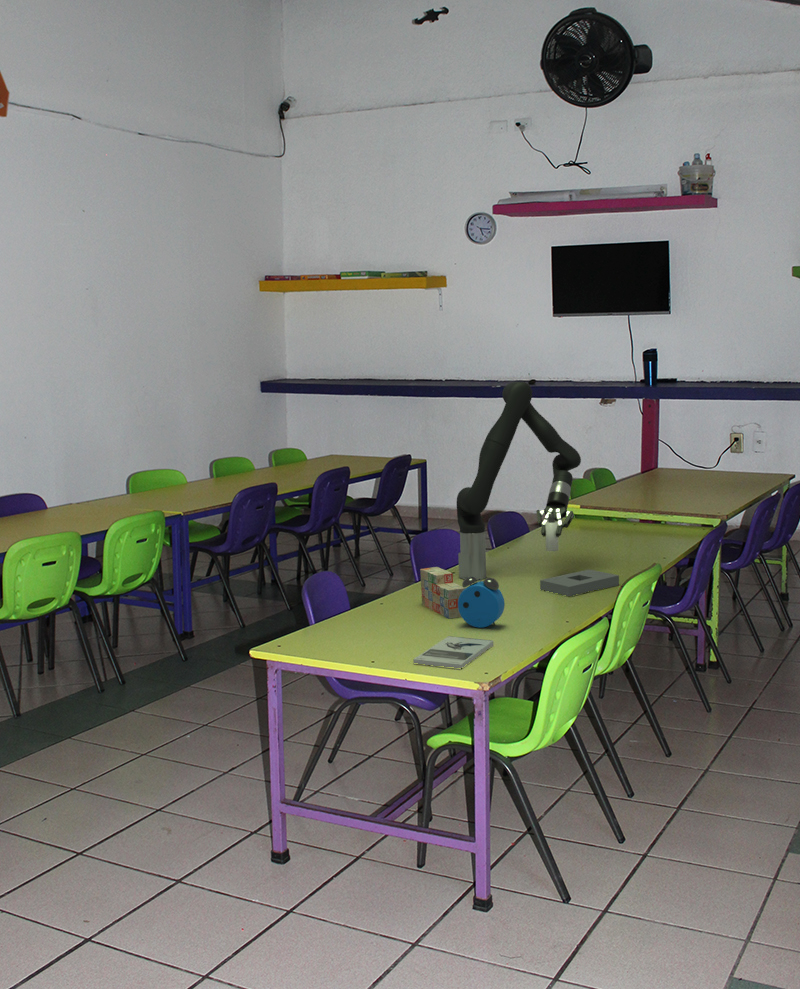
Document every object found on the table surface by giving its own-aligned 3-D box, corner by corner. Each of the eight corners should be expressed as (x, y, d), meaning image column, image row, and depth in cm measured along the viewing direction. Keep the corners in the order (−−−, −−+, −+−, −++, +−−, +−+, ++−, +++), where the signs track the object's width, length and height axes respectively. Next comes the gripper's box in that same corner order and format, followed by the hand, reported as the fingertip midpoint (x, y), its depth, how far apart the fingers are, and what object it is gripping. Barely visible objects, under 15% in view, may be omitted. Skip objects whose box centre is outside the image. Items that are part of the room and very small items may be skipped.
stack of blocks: (466, 616, 310) (465, 578, 309) (448, 619, 308) (447, 580, 306) (438, 602, 330) (437, 566, 328) (421, 604, 328) (419, 568, 326)
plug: (551, 551, 348) (551, 515, 346) (543, 550, 352) (542, 514, 350) (560, 549, 351) (560, 513, 349) (552, 548, 354) (551, 512, 352)
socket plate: (569, 597, 329) (569, 586, 329) (540, 590, 341) (540, 580, 340) (619, 585, 343) (618, 575, 342) (589, 578, 354) (589, 569, 354)
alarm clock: (505, 625, 298) (504, 576, 296) (498, 630, 293) (497, 581, 291) (465, 621, 304) (463, 574, 302) (457, 626, 299) (456, 578, 296)
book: (461, 671, 258) (460, 664, 258) (413, 666, 264) (413, 659, 264) (493, 647, 278) (493, 640, 278) (448, 642, 284) (448, 635, 284)
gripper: (537, 490, 358) (528, 528, 349) (576, 490, 352) (568, 530, 343) (542, 502, 363) (533, 540, 354) (580, 503, 358) (572, 542, 348)
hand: (550, 535), depth 349 cm, fingers closed on plug, 4 cm apart
